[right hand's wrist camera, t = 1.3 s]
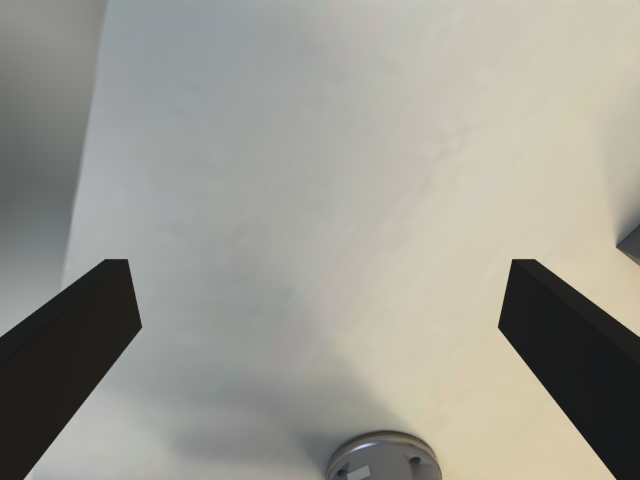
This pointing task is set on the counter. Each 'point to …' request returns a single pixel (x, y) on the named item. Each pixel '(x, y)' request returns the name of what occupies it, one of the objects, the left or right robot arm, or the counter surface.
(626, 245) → the beam
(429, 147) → the counter surface
